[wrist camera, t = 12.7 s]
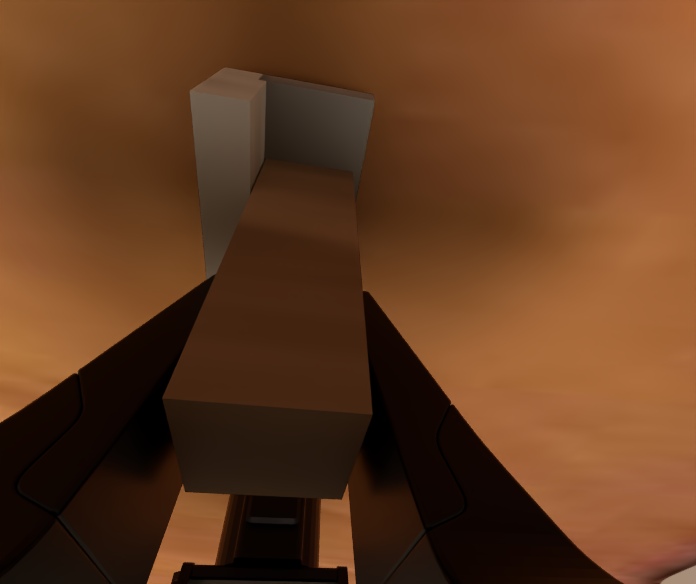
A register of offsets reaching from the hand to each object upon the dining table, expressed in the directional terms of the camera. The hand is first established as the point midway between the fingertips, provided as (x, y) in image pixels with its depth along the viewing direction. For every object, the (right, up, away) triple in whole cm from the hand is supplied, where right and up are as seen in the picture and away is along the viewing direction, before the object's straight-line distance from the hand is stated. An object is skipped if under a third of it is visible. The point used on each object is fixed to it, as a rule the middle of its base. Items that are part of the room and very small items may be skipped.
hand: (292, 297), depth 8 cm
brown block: (-1, +3, +4) cm, 5 cm away
